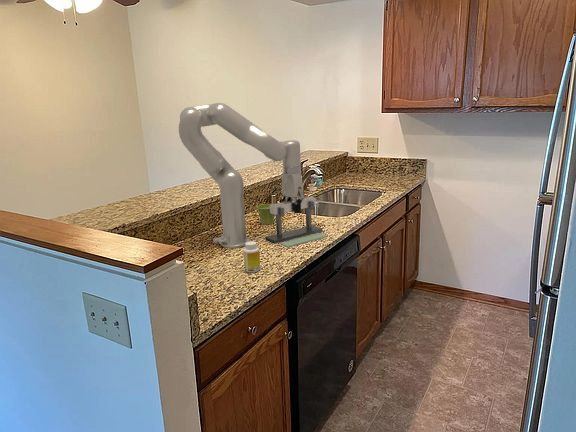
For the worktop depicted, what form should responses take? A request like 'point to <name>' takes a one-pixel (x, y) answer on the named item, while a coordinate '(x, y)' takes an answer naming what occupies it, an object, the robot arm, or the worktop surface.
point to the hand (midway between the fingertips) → (293, 211)
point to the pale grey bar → (291, 205)
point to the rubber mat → (303, 240)
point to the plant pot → (265, 214)
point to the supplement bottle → (251, 257)
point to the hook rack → (297, 232)
